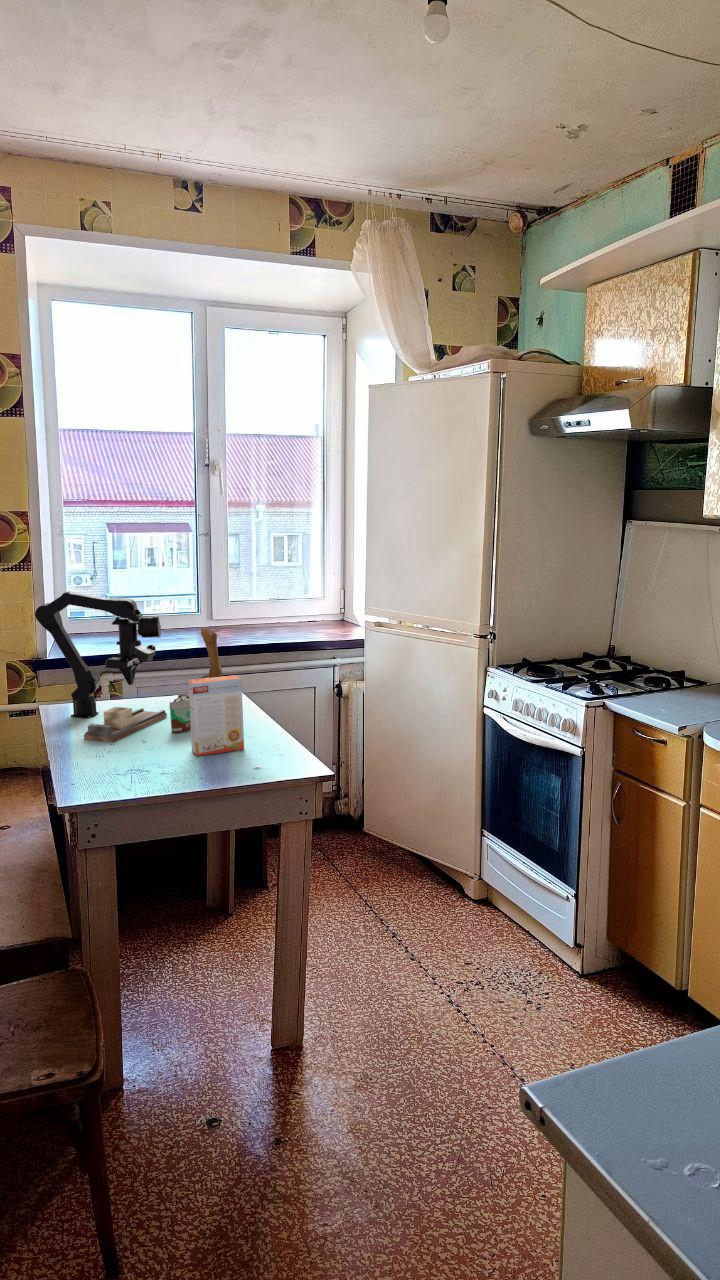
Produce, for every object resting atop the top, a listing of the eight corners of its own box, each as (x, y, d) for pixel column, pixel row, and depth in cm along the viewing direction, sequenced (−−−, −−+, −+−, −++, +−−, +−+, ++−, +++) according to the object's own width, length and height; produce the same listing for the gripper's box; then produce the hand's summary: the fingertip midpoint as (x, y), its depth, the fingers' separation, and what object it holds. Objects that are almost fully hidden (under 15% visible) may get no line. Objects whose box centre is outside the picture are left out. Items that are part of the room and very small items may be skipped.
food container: (190, 735, 260) (189, 702, 258) (170, 735, 260) (169, 702, 258) (199, 724, 272) (198, 693, 270) (179, 724, 272) (178, 693, 270)
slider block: (104, 727, 261) (103, 711, 260) (115, 722, 267) (115, 706, 266) (121, 729, 259) (120, 713, 259) (132, 724, 265) (131, 708, 264)
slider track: (84, 739, 255) (83, 725, 254) (139, 715, 283) (139, 701, 283) (113, 742, 252) (112, 727, 251) (166, 717, 280) (166, 703, 279)
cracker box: (238, 745, 249) (236, 674, 246) (244, 750, 244) (242, 678, 240) (190, 751, 244) (187, 678, 240) (195, 757, 238) (192, 683, 235)
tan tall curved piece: (209, 719, 278) (206, 633, 273) (202, 705, 296) (199, 624, 291) (230, 717, 279) (227, 632, 275) (222, 704, 297) (220, 623, 293)
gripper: (133, 643, 269) (135, 692, 271) (165, 634, 286) (167, 680, 289) (102, 642, 272) (105, 690, 275) (136, 632, 289) (138, 678, 292)
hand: (130, 684), depth 282 cm, fingers closed
